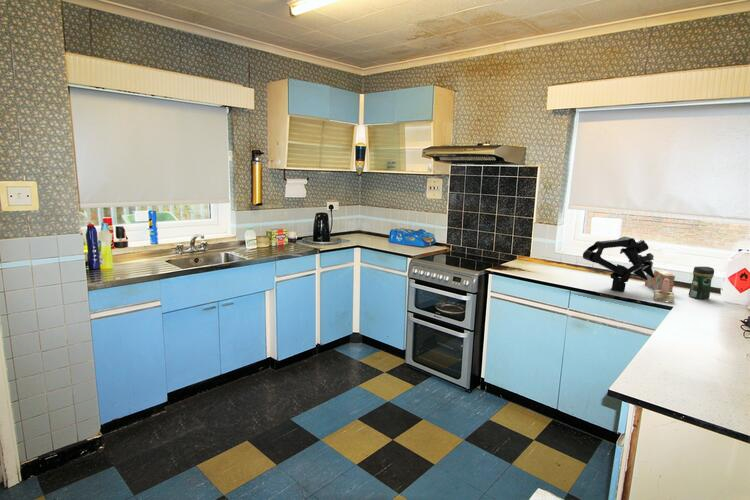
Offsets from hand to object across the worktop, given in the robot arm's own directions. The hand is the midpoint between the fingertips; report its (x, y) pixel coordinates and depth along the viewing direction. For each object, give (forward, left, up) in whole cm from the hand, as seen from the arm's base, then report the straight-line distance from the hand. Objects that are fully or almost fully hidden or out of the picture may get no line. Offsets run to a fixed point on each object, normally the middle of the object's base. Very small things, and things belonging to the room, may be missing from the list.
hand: (650, 278), depth 247 cm
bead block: (+7, -3, -10) cm, 13 cm away
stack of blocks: (+5, +19, -11) cm, 22 cm away
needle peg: (+7, -3, -10) cm, 13 cm away
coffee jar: (+25, +16, -11) cm, 32 cm away
